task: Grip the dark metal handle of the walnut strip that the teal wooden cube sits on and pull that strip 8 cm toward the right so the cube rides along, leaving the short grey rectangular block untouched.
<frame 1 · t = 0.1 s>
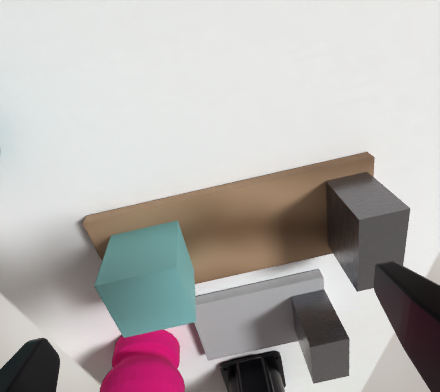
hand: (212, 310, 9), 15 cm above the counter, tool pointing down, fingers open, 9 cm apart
teal cube: (154, 253, 24), point 1 cm above the counter, touching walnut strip
pepper mill: (148, 345, 32), on the counter
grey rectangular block: (266, 340, 28), point 3 cm above the counter, slide at 0.0 cm
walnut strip: (241, 251, 23), point 3 cm above the counter, slide at 0.0 cm, touching teal cube
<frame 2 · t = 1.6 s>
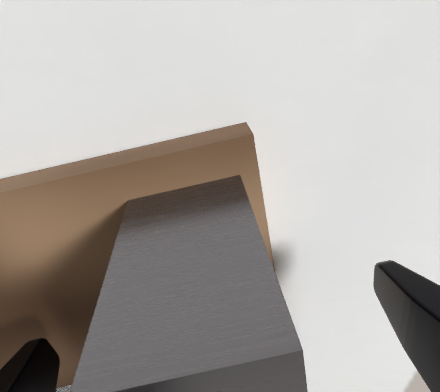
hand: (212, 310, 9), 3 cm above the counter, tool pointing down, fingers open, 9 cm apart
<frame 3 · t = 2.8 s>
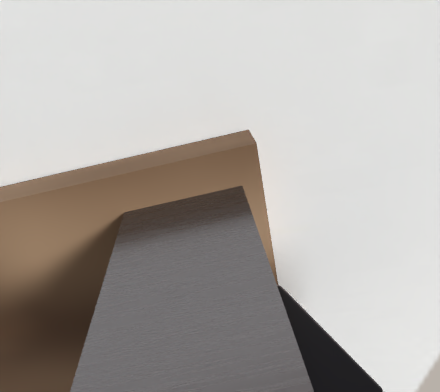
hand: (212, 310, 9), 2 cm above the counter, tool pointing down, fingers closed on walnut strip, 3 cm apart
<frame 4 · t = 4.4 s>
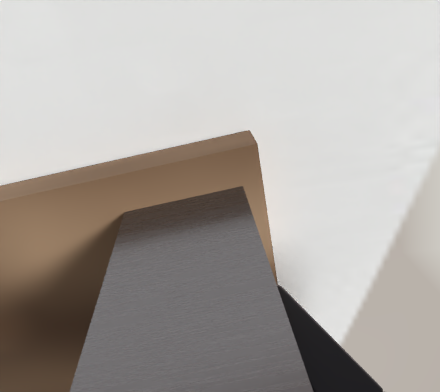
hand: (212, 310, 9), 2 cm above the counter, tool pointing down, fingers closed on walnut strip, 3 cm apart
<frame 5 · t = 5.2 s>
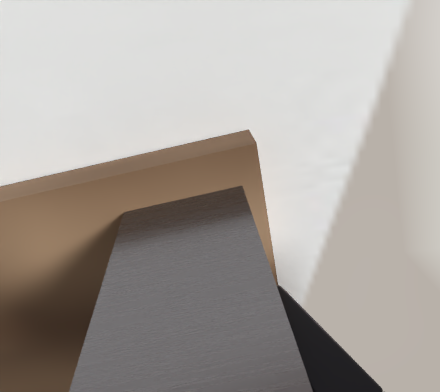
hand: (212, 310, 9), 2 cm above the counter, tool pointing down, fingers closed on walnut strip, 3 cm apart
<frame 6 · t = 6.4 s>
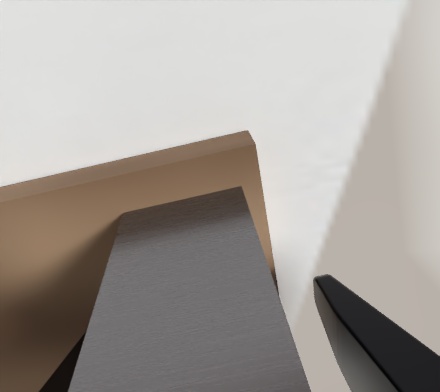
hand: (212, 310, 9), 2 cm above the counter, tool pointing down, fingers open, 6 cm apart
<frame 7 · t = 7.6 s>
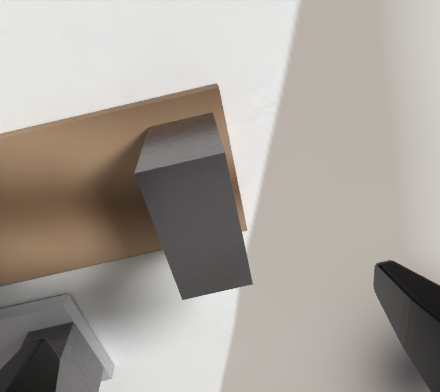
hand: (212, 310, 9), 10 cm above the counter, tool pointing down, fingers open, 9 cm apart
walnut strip: (15, 237, 14), point 3 cm above the counter, slide at 7.9 cm, touching teal cube
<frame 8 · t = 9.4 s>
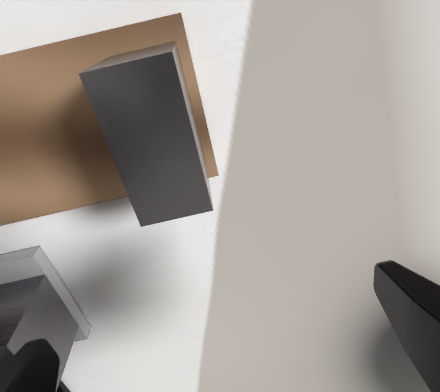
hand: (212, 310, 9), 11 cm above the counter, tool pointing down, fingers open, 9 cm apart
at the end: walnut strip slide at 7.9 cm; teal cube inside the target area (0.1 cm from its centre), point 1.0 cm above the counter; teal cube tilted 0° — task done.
